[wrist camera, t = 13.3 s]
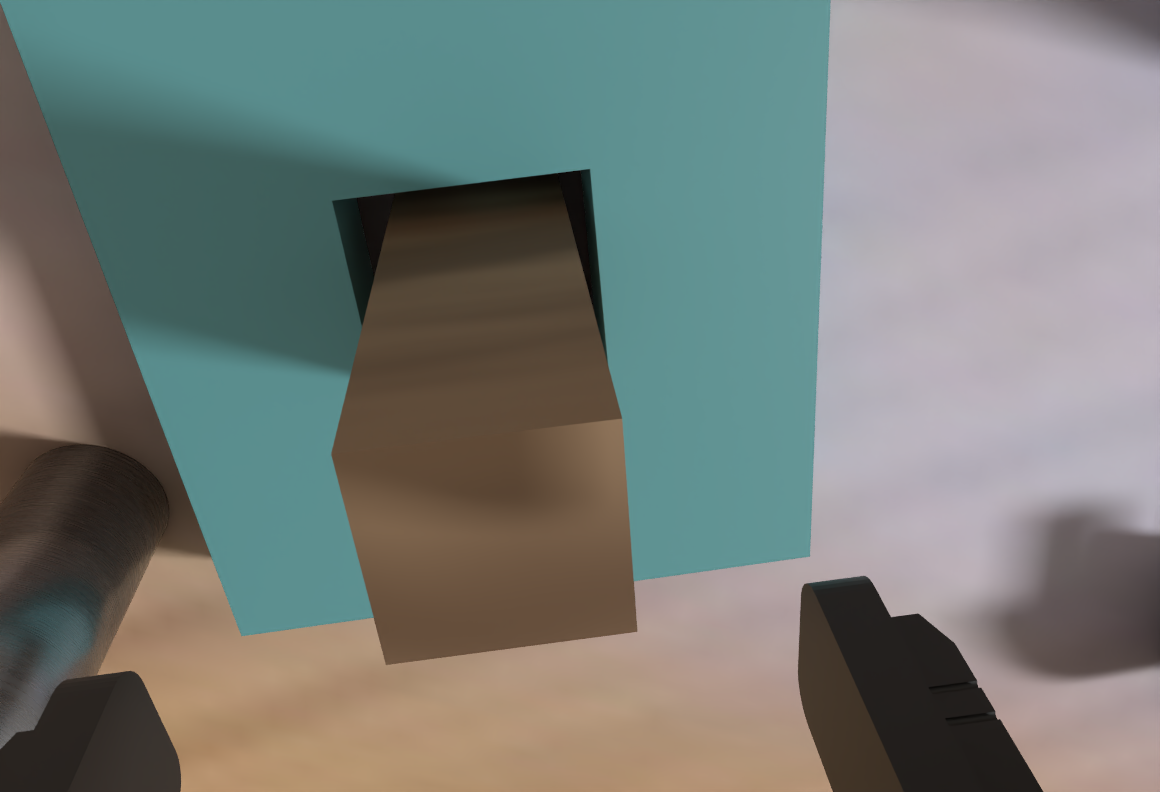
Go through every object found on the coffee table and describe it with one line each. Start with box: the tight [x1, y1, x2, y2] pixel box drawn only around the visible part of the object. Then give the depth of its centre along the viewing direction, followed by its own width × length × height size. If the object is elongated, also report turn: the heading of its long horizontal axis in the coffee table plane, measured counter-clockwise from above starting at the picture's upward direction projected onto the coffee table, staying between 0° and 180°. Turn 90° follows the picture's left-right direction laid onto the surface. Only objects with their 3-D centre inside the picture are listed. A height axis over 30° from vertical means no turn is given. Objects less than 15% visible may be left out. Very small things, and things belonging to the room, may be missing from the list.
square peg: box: [331, 173, 637, 665], centre depth 19 cm, size 4×4×12 cm
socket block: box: [0, 0, 830, 636], centre depth 23 cm, size 18×16×3 cm
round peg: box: [0, 445, 169, 749], centre depth 21 cm, size 4×4×12 cm
